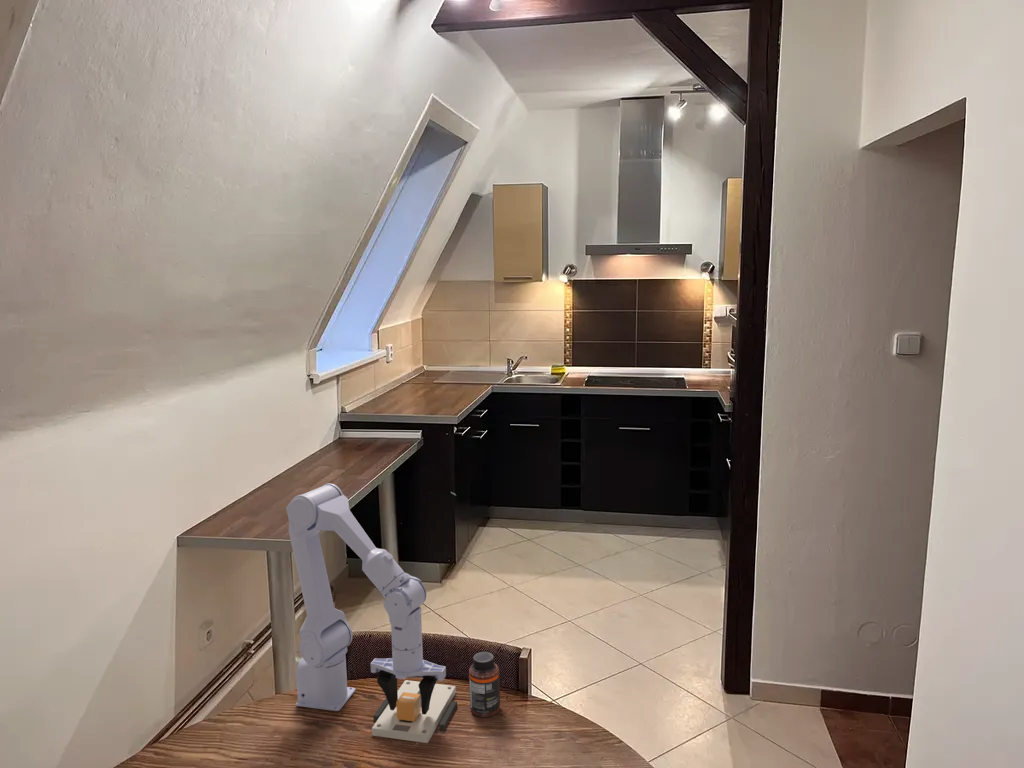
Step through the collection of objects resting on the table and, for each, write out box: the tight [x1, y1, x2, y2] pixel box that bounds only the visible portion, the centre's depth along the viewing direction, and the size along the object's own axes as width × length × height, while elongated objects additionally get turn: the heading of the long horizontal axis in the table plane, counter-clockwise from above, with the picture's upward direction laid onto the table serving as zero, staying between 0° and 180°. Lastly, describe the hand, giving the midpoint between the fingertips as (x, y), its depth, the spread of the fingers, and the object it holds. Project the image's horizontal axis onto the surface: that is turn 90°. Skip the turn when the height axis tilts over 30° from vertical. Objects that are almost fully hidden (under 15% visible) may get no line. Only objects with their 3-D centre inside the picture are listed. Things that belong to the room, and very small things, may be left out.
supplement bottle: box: [468, 651, 501, 718], centre depth 149 cm, size 6×6×11 cm
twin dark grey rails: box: [372, 697, 458, 731], centre depth 149 cm, size 14×8×1 cm, turn 77°
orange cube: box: [396, 692, 421, 721], centre depth 145 cm, size 4×4×4 cm
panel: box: [371, 679, 457, 744], centre depth 149 cm, size 11×17×2 cm, turn 166°
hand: (409, 709), depth 145 cm, fingers open, 6 cm apart
